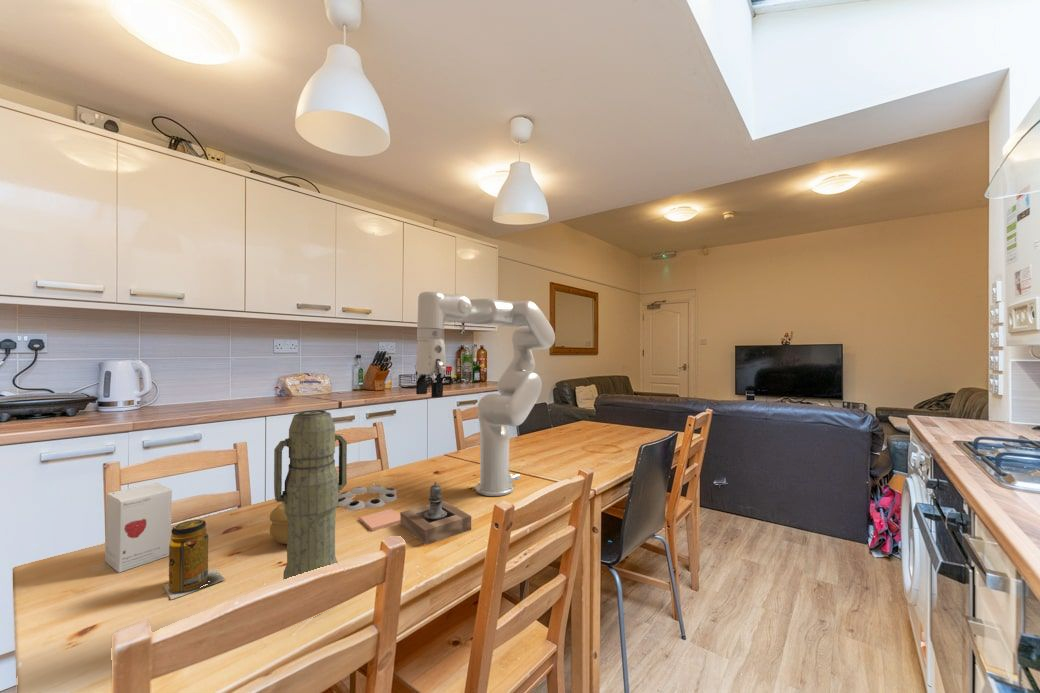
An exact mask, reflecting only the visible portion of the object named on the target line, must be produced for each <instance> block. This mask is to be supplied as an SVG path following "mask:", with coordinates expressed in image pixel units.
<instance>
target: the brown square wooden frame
mask: <svg viewBox="0 0 1040 693" xmlns="http://www.w3.org/2000/svg"><path fill="white" fill-rule="evenodd" d="M441 507H442V510H444V511H446V512H447V515H446V518H444V519H441V520H437V521H434V522H431V523H429V522H427V521H426V520H425V517H424V514H425V513H426V512H428V511H429V508H430V504H427V505H422V506H419V507H415V508H411V509H408V510H404V511H401V512H400V514H399V515H400V523H399V524H400V527H402V528H403V529H404V530H405V531H406V532H408V533H409V534H411V535H412V536H413V537H415V538H416V539H417V540H418V541H419V542H421V543H422V544H423V545H424V546H426V545H430V544H432V543H436V542H439V541H441V540H444V539H445V540H446V539H448V538H450V537H453V536H457V535H460V534H463V533H466V532H468V531H472V515H470V514H468V513H467V512H465V511H463V510H461V509H459V508H458V507H456V506H455V505H453V504H450V503H449V502H447V501H445V500H442V501H441Z"/></svg>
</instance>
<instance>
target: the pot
mask: <svg viewBox="0 0 1040 693" xmlns="http://www.w3.org/2000/svg"><path fill="white" fill-rule="evenodd" d="M269 521H271V524H270V526H269V528H268V529H269V534H270V535H271V537H272V538H273V539H274V540H275V541H276V542H277V543H280V544H284V545H287V516H286V514H285V512H284V503H283V502H280V503H279V504H278V505H277V506H275V508H273V510H272V511H271V512H270V514H269Z"/></svg>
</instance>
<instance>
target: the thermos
mask: <svg viewBox="0 0 1040 693" xmlns="http://www.w3.org/2000/svg"><path fill="white" fill-rule="evenodd" d="M335 442H338V472H337V469H336V465H335V464H336V460H335V458H334V457H335V456H334V455H335V453H336V443H335ZM347 444H348V443H347V441H346V439H345V438H344V437H343V436H342V435H341V434H336V426H335V423H334V420H333V416H332V414H331V412H327V410H323V409H322V410H320V409H318V410H316V409H315V410H313V409H312V410H305V411H299V412H298V413H295V414H294V415H293V416H292V420H291V422H290V426H289V427H288V438H285V439H284V440H280V441H279V443H278V444H277V445H276V446H275V448H273V449H274V451H273V452H274V453H273V455H274V458H273V459H274V460H273V461H274V462H273V467H274V468H273V492H274V493H273V494H274V495H273V496H274V500H275V501H276V502H277V503H284V512H285V514H286V516H287V544H286V565H285V568H284V570H283V577H282V578H283V580H284V579H287V578H289V577H292V576H296V575H298V574H302V573H304V572H308V571H311V570H314V569H317V568H320V567H324V566H327V565H331V564H334V563H338V560H337V556H336V510H337V508H338V507H337V505H338V502H339V501H338V494H340V491H342V490H343V488H345V487H346V485H347V469H348V468H347V466H348V465H347V464H348V463H347V459H348V458H347V456H348V455H347V453H348V452H347V451H348V450H347V448H348V447H347ZM285 447H287V448H288V458H289V464H288V471H287V474H286V477H285V479H284V490H282V489H283V488H282V486H283V484H282V482H283V481H282V476H283V475H282V474H283V472H282V471H283V469H282V468H283V449H284V448H285ZM338 564H339V563H338Z"/></svg>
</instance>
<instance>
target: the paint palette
mask: <svg viewBox="0 0 1040 693" xmlns="http://www.w3.org/2000/svg"><path fill="white" fill-rule="evenodd" d="M366 492H369V493H368V494H378V492H379V497H378V498H377V497H376V498H374V497H373V498H371V499H369V500H367V501H366V502H364V501H363V500H360V499H355V500H354V499H353V498H352V497H354V496H355V497H356V495H354V494H362V493H365V494H367V493H366ZM397 493H398V490H396V489H395V488H392V487H384V486H382V485H376V484H375V485H374V484H373V485H371V486H370V487H369V488H368V489H367V488H366V487H364V486H359V487H353V488H352V489H351V490H350V491H349V490H347V491H343V492H339V493H338V505H337V506H344V508H346V509H345V510H347V509H348V510H347V511H357V510H362V509H364V508H367V509H376V508H377V509H378V508H380V507H383V506H385V504H386V503H389V502H395V501H396V500H398V498H397V497H398V496H397ZM362 495H363V494H362ZM380 495H381V496H380ZM390 495H391V496H390ZM355 497H354V498H355ZM350 498H352V499H350ZM344 499H345V500H344ZM339 500H341V501H339ZM372 501H373V502H377V503H373V502H372ZM353 503H354V504H353ZM351 504H352V505H351Z"/></svg>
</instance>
